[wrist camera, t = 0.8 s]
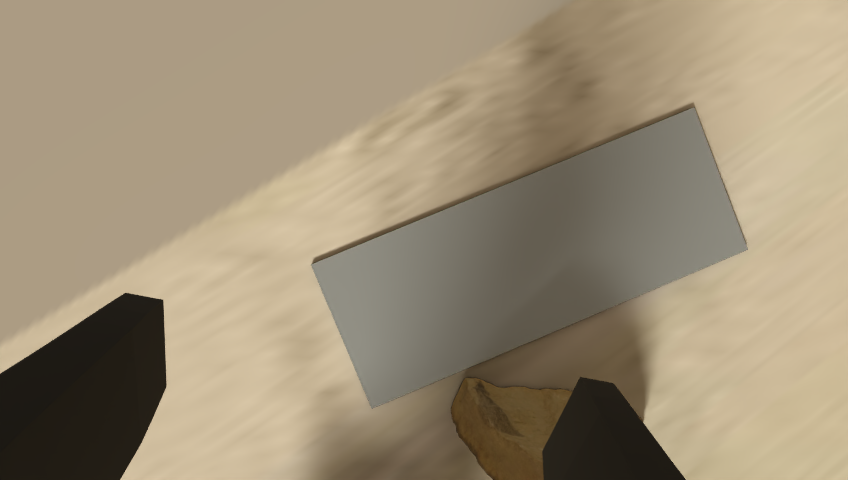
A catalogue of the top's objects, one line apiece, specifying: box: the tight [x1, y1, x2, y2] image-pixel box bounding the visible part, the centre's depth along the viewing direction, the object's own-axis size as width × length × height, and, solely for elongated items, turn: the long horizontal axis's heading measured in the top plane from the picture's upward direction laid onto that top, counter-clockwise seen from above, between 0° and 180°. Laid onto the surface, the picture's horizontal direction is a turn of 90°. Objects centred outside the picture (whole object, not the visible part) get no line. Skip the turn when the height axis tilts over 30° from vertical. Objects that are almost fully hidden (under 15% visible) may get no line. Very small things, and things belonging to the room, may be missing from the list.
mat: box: [311, 107, 748, 409], centre depth 33 cm, size 9×24×1 cm, turn 112°
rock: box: [451, 378, 642, 480], centre depth 30 cm, size 11×9×10 cm
